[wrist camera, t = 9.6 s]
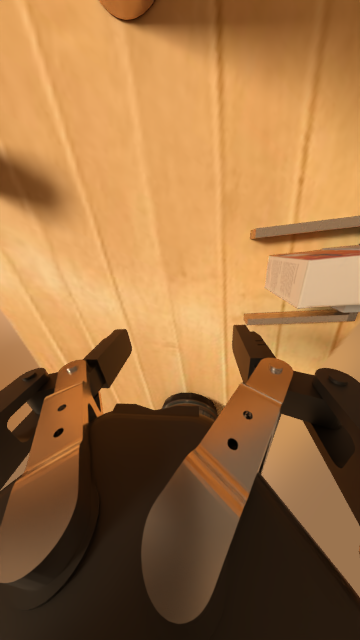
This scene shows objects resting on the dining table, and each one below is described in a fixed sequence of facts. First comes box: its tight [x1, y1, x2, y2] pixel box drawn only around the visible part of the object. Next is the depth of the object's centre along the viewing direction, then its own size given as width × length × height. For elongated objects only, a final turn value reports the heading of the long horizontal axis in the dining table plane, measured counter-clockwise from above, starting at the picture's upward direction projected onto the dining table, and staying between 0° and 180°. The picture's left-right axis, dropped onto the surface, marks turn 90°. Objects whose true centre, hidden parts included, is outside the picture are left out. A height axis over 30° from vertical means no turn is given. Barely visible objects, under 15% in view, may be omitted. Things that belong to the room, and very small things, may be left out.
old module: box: [322, 245, 360, 313], centre depth 22 cm, size 8×5×8 cm, turn 6°
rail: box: [244, 216, 360, 325], centre depth 25 cm, size 15×17×2 cm
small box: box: [265, 250, 360, 309], centre depth 21 cm, size 8×6×10 cm
